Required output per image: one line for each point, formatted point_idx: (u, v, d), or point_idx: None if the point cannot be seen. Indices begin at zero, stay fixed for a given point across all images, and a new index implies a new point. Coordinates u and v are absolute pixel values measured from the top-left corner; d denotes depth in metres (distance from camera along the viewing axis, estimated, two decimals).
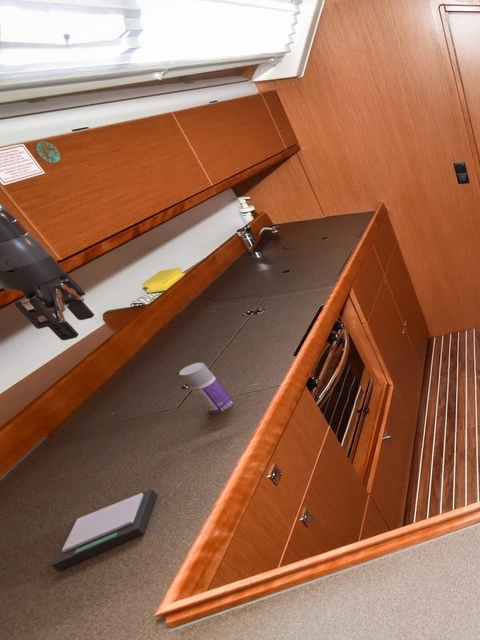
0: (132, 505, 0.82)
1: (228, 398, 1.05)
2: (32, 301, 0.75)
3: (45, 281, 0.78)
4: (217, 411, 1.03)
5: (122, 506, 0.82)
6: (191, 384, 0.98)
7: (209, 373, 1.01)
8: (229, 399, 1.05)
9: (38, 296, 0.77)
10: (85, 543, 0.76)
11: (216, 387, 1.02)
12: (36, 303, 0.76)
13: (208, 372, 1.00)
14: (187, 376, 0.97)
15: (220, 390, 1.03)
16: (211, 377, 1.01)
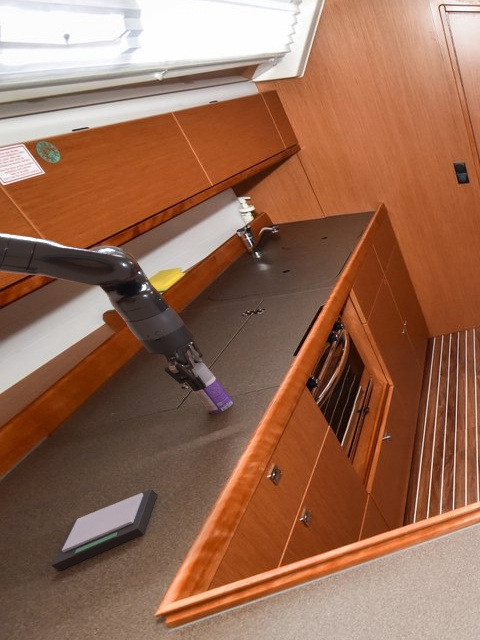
0: (132, 505, 0.82)
1: (228, 398, 1.05)
2: (177, 367, 0.92)
3: (181, 345, 0.93)
4: (217, 411, 1.03)
5: (122, 506, 0.82)
6: None
7: (209, 373, 1.01)
8: (229, 399, 1.05)
9: (177, 359, 0.93)
10: (85, 543, 0.76)
11: (216, 387, 1.02)
12: (180, 368, 0.92)
13: (208, 372, 1.00)
14: None
15: (220, 390, 1.03)
16: (211, 377, 1.01)
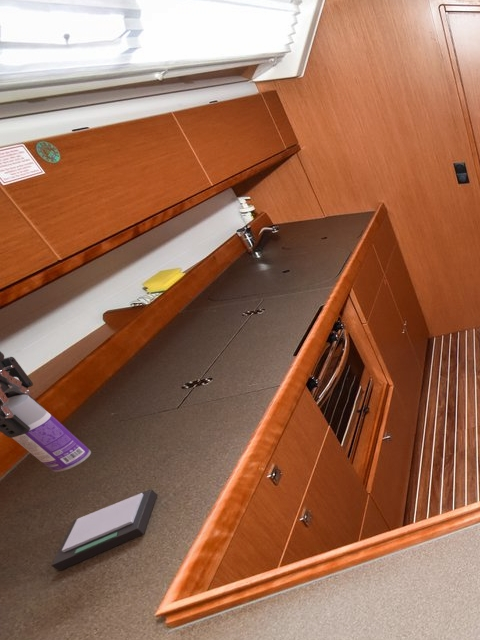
0: (132, 505, 0.82)
1: (74, 443, 0.74)
2: None
3: None
4: (55, 463, 0.73)
5: (122, 506, 0.82)
6: None
7: (37, 410, 0.70)
8: (76, 444, 0.75)
9: None
10: (85, 543, 0.76)
11: (51, 429, 0.71)
12: None
13: (36, 408, 0.70)
14: None
15: (59, 432, 0.72)
16: (41, 416, 0.70)
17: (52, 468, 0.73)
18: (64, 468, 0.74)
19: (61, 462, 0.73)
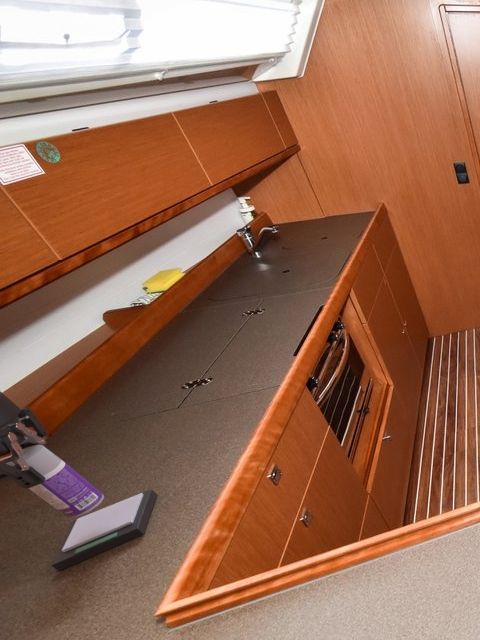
0: (132, 505, 0.82)
1: (88, 489, 0.76)
2: None
3: None
4: (69, 509, 0.74)
5: (122, 506, 0.82)
6: None
7: (52, 459, 0.71)
8: (90, 490, 0.76)
9: None
10: (85, 543, 0.76)
11: (66, 477, 0.73)
12: None
13: (50, 458, 0.71)
14: None
15: (73, 480, 0.74)
16: (56, 465, 0.72)
17: (67, 515, 0.74)
18: (78, 514, 0.75)
19: (75, 509, 0.74)
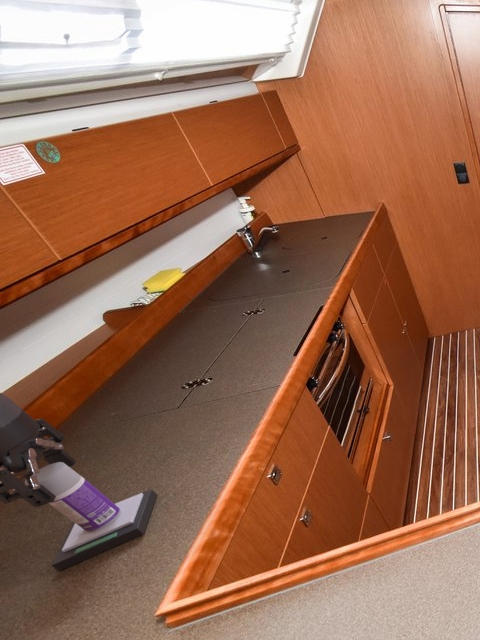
0: (132, 505, 0.82)
1: (106, 504, 0.78)
2: None
3: (15, 445, 0.66)
4: (88, 524, 0.76)
5: (122, 506, 0.82)
6: None
7: (73, 476, 0.74)
8: (108, 505, 0.78)
9: (7, 464, 0.66)
10: (85, 543, 0.76)
11: (85, 493, 0.75)
12: (3, 477, 0.64)
13: (71, 475, 0.73)
14: None
15: (92, 495, 0.76)
16: (76, 482, 0.74)
17: (86, 529, 0.77)
18: (97, 528, 0.77)
19: (94, 523, 0.77)
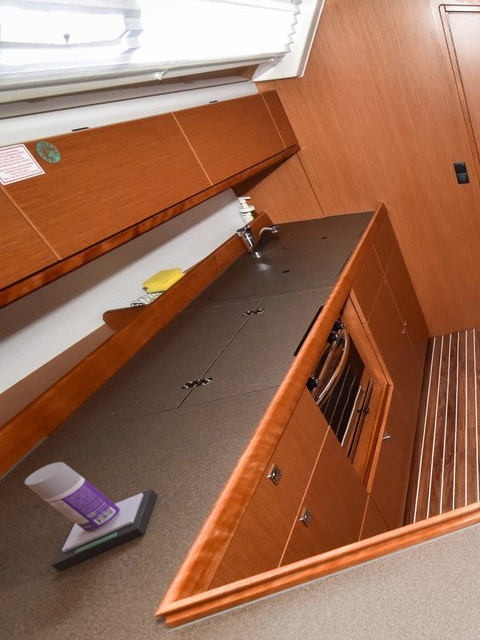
0: (132, 505, 0.82)
1: (106, 504, 0.78)
2: None
3: None
4: (88, 524, 0.76)
5: (122, 506, 0.82)
6: (43, 495, 0.71)
7: (73, 476, 0.74)
8: (108, 505, 0.78)
9: None
10: (85, 543, 0.76)
11: (85, 493, 0.75)
12: None
13: (71, 475, 0.73)
14: (34, 485, 0.70)
15: (92, 495, 0.76)
16: (76, 482, 0.74)
17: (86, 529, 0.77)
18: (97, 528, 0.77)
19: (94, 523, 0.77)
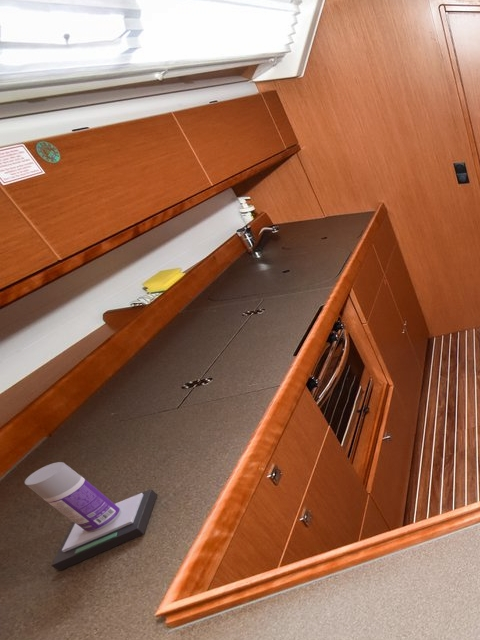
0: (132, 505, 0.82)
1: (106, 504, 0.78)
2: None
3: None
4: (88, 524, 0.76)
5: (122, 506, 0.82)
6: (43, 495, 0.71)
7: (73, 476, 0.74)
8: (108, 505, 0.78)
9: None
10: (85, 543, 0.76)
11: (85, 493, 0.75)
12: None
13: (71, 475, 0.73)
14: (34, 485, 0.70)
15: (92, 495, 0.76)
16: (76, 482, 0.74)
17: (86, 529, 0.77)
18: (97, 528, 0.77)
19: (94, 523, 0.77)
